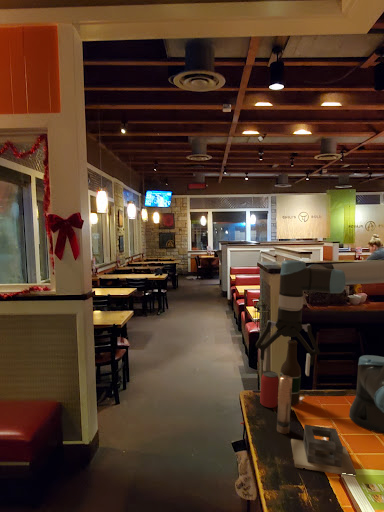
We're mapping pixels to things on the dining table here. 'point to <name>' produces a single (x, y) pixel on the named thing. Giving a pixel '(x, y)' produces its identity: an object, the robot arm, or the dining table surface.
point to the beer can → (269, 389)
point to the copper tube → (284, 404)
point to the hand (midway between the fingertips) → (285, 371)
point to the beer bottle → (292, 370)
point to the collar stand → (321, 451)
